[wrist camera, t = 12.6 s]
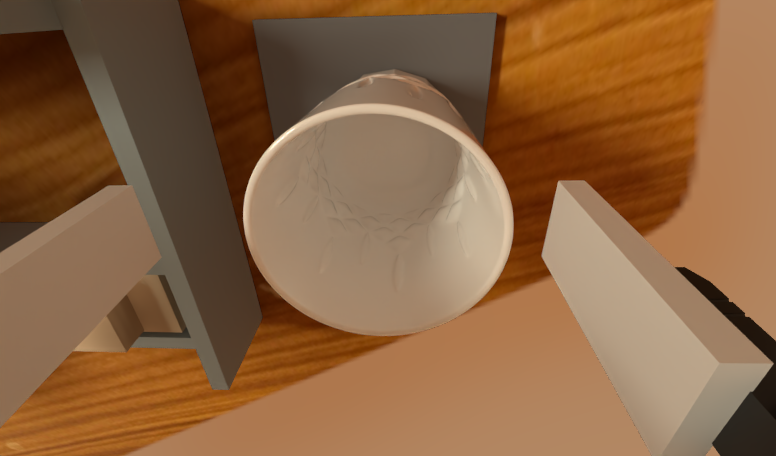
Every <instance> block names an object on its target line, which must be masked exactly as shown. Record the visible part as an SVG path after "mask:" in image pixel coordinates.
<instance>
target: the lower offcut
mask: <svg viewBox="0 0 776 456" xmlns="http://www.w3.org/2000/svg"><path fill="white" fill-rule="evenodd" d="M127 296H128V298H129V300H130V302H131V304H132V306H133V308H134V310H135V312H136V314H137V316H138V318H139V320H140V322H141V324H142V326H143V328H144V331H143V332H178V333H182V332H183V331H184V329H185V328H186V324H185V322H184V320H183V317H182V315H181V312H180V310H179V308H178V305H177V303H176V300H175V298H174V295H173V293H172V291H171V288H170V286H169V283H168V281H167V279H166V276H165V275H144V276H143V277H142V279H141V280H140V281H139V282H138V283H137V284H136V285H135V286H134V287H133V288H132V289H131V290H130V291H129V292H128V293H127Z"/></svg>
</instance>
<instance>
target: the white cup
mask: <svg viewBox="0 0 776 456" xmlns="http://www.w3.org/2000/svg"><path fill="white" fill-rule="evenodd" d="M243 223H244V231H245V236H246V240H247V244H248V247H249V250H250V253H251V255H252V257H253V260H254V262H255V264H256V265H257V267H258V269H259V271H260V272H261V274H262V275H263V277H264V278H265V279H266V281H267V282H268V283H269V284H270V286H271V287H272V288H273V289H274V290H275V291H276V292H277V293H278V294H279V295H280V296H281V297H282V298H283V299H284V300H285V301H287V302H288V303H289V304H290V305H292V306H293V307H294V308H296V309H297V310H299V311H300V312H302V313H303V314H305V315H307V316H309V317H310V318H312V319H314V320H316V321H318V322H321V323H323V324H325V325H328V326H330V327H333V328H336V329H340V330H343V331H347V332H351V333H356V334H363V335H372V336H397V335H406V334H412V333H417V332H421V331H425V330H429V329H432V328H435V327H437V326H440V325H442V324H445V323H447V322H449V321H451V320H453V319H455V318H457V317H458V316H460V315H462V314H463V313H465V312H466V311H468V310H469V309H470V308H472V307H473V306H474V305H475V304H476V303H478V302H479V301H480V300H481V299H482V298H483V297H484V296H485V295H486V294H487V293H488V291H489V290H490V289H491V288H492V286H493V285H494V284H495V282H496V281H497V279H498V278H499V276H500V274H501V273H502V271H503V269H504V267H505V264H506V262H507V259H508V256H509V253H510V250H511V245H512V240H513V229H514V220H513V210H512V204H511V200H510V196H509V193H508V190H507V187H506V185H505V183H504V180H503V178H502V176H501V174H500V173H499V171H498V169H497V168H496V166H495V164H494V163H493V162H492V160H491V159H490V157H489V156H488V154H487V153H486V151H485V150H484V148H483V147H482V146H481V144H480V143H479V141H478V140H477V138H476V136H475V135H474V133H473V132H472V130H471V129H470V127H469V126H468V124H467V123H466V121H465V120H464V119H463V117H462V116H461V115H460V113H459V112H458V111H457V110H456V108H455V107H454V106H453V105H452V104H451V102H450V101H449V100H448V99H447V98H446V97H445V96H444V95H443V94H442V93H440V92H439V91H438V90H437V89H436V88H435V87H434V86H433V85H432V84H431V83H430V82H429V81H428V80H427V79H426V78H423V77H420V76H417V75H413V74H410V73H407V72H404V71H400V70H397V69H391V70H386V71H380V72H375V73H369V74H364V75H362V76H361V77H360V78H359V79H357V80H356V81H353V82H351V83H349V84H347V85H346V86H344V87H342V88H341V89H340V90H338V91H337V92H335V93H334V94H332V95H331V96H329V97H328V98H326V99H325V100H323V101H322V102H321V103H320V104H318V105H317V106H316V107H315V108H314V109H313V110H312V111H311V112H309V113H308V114H307V115H306V116H304V117H303V118H302V119H301V120H299V121H298V122H297V123H296V124H294V125H293V126H292V127H291V128H289V129H288V130H287V131H286V132H284V133H283V134H282V135H281V136H280V137H279V138H277V139H276V140H275V141H274V142H273V143H272V144H271V146H270V147H269V148H268V149H267V150H266V151H265V153H264V154H263V155H262V157H261V158H260V160H259V161H258V163H257V165H256V166H255V168H254V170H253V172H252V175H251V177H250V180H249V182H248V186H247V189H246V193H245V198H244V206H243Z"/></svg>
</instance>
